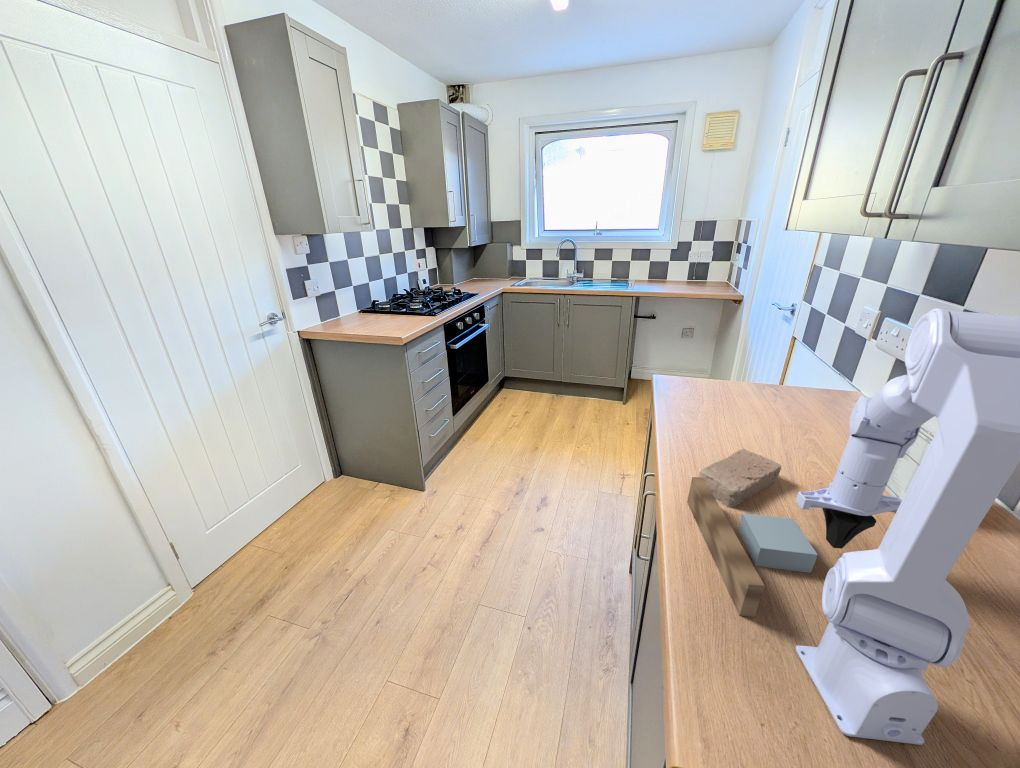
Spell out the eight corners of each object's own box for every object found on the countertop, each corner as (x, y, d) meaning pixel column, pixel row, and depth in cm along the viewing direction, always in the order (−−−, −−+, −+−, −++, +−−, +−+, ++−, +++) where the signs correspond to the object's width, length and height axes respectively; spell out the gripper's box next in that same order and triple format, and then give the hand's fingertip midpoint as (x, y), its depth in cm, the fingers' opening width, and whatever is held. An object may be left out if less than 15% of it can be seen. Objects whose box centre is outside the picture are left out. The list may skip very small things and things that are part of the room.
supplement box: (971, 525, 70) (1017, 445, 63) (907, 515, 72) (945, 437, 66) (935, 492, 78) (973, 418, 72) (879, 484, 81) (911, 412, 74)
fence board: (754, 616, 54) (764, 585, 52) (739, 615, 55) (748, 584, 52) (697, 502, 76) (703, 477, 74) (687, 502, 77) (692, 477, 74)
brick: (731, 511, 75) (736, 491, 73) (693, 487, 81) (697, 468, 79) (777, 483, 82) (783, 464, 81) (739, 463, 89) (744, 446, 87)
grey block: (810, 573, 61) (817, 554, 60) (754, 566, 63) (760, 547, 61) (786, 536, 68) (792, 518, 67) (737, 531, 70) (742, 513, 68)
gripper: (893, 462, 61) (864, 528, 66) (795, 457, 63) (774, 523, 68) (933, 490, 55) (897, 562, 60) (822, 484, 56) (796, 554, 62)
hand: (833, 543), depth 64 cm, fingers closed
